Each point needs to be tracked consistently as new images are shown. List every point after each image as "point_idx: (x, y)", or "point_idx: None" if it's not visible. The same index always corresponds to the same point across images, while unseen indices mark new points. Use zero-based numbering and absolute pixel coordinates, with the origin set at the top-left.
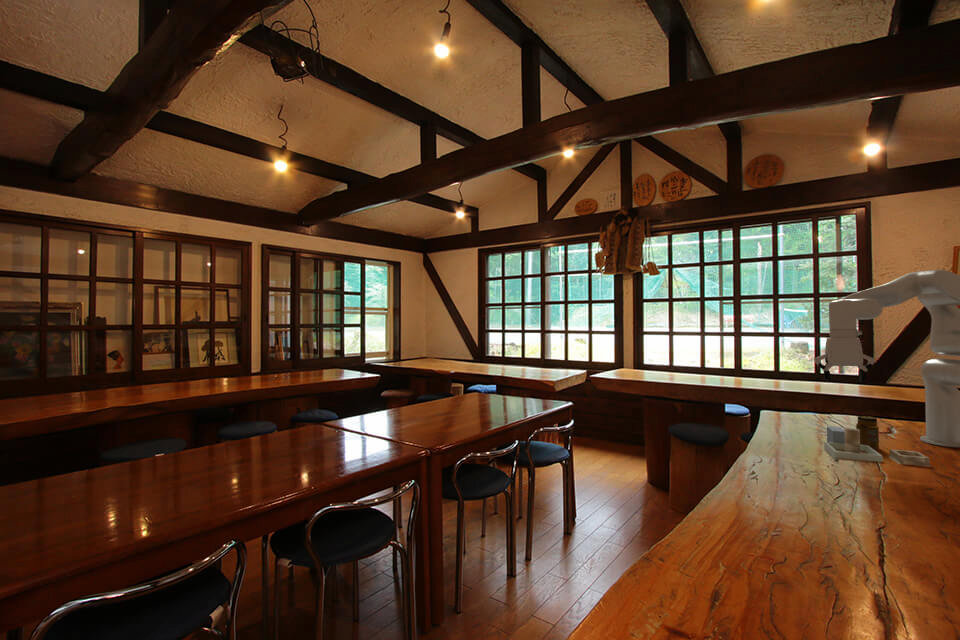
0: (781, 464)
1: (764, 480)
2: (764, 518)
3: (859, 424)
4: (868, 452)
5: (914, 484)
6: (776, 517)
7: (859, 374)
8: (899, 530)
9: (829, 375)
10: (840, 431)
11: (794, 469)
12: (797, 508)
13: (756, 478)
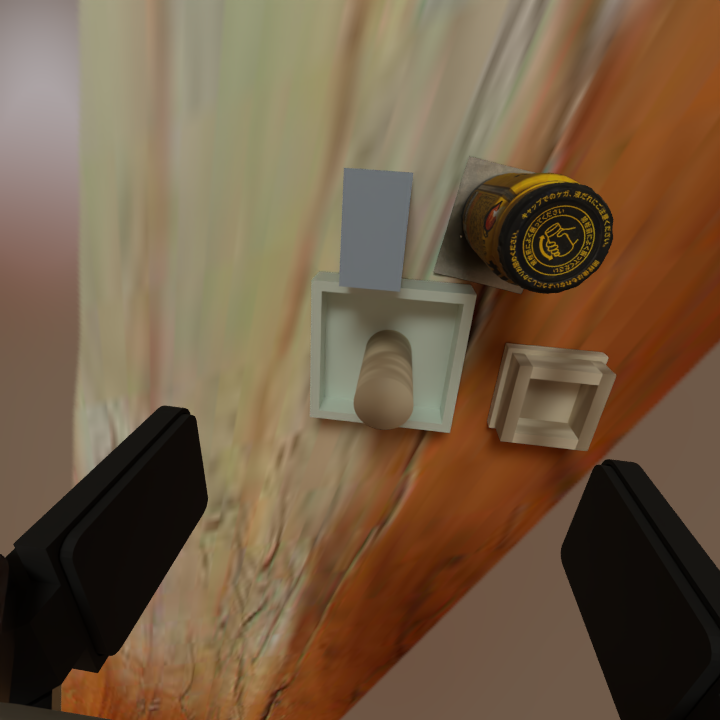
0: None
1: None
2: (140, 682)
3: (489, 253)
4: (456, 324)
5: (437, 542)
6: (154, 679)
7: (645, 598)
8: (301, 692)
9: (146, 589)
10: (374, 288)
11: None
12: (182, 656)
13: None
